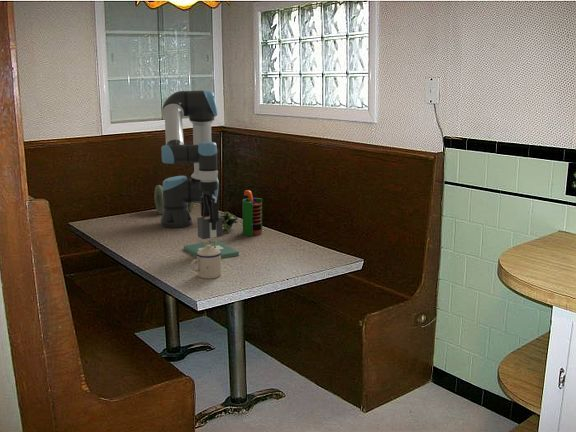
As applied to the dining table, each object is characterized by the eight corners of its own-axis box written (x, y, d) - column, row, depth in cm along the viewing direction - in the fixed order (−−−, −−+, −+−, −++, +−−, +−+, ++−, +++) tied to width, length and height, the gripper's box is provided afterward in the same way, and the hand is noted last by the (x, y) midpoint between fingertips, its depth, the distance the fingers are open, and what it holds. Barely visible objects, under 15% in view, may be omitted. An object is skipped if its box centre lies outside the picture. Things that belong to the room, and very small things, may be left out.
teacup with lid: (214, 269, 245) (213, 240, 242) (226, 276, 237) (225, 245, 235) (185, 275, 238) (184, 245, 235) (197, 282, 231) (196, 251, 228)
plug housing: (197, 236, 265) (197, 217, 263) (217, 233, 270) (217, 214, 268) (202, 239, 261) (202, 219, 259) (222, 236, 266) (222, 217, 264)
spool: (164, 216, 329) (162, 188, 325) (155, 211, 342) (153, 183, 338) (194, 213, 337) (193, 185, 333) (184, 207, 350) (183, 180, 346)
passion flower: (225, 240, 305) (237, 218, 307) (233, 242, 295) (245, 219, 297) (205, 229, 300) (217, 207, 303) (212, 230, 290) (225, 207, 293)
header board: (183, 249, 272) (183, 239, 270) (218, 243, 279) (217, 233, 278) (202, 261, 255) (202, 250, 254) (238, 255, 263) (238, 244, 262)
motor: (259, 236, 291) (258, 193, 286) (240, 235, 293) (239, 192, 288) (264, 230, 301) (263, 189, 296) (245, 230, 302) (245, 188, 298)
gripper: (226, 182, 254) (228, 239, 260) (208, 176, 269) (209, 229, 275) (209, 184, 251) (211, 242, 256) (191, 178, 266) (193, 232, 271)
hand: (210, 235), depth 265 cm, fingers closed on plug housing, 5 cm apart
